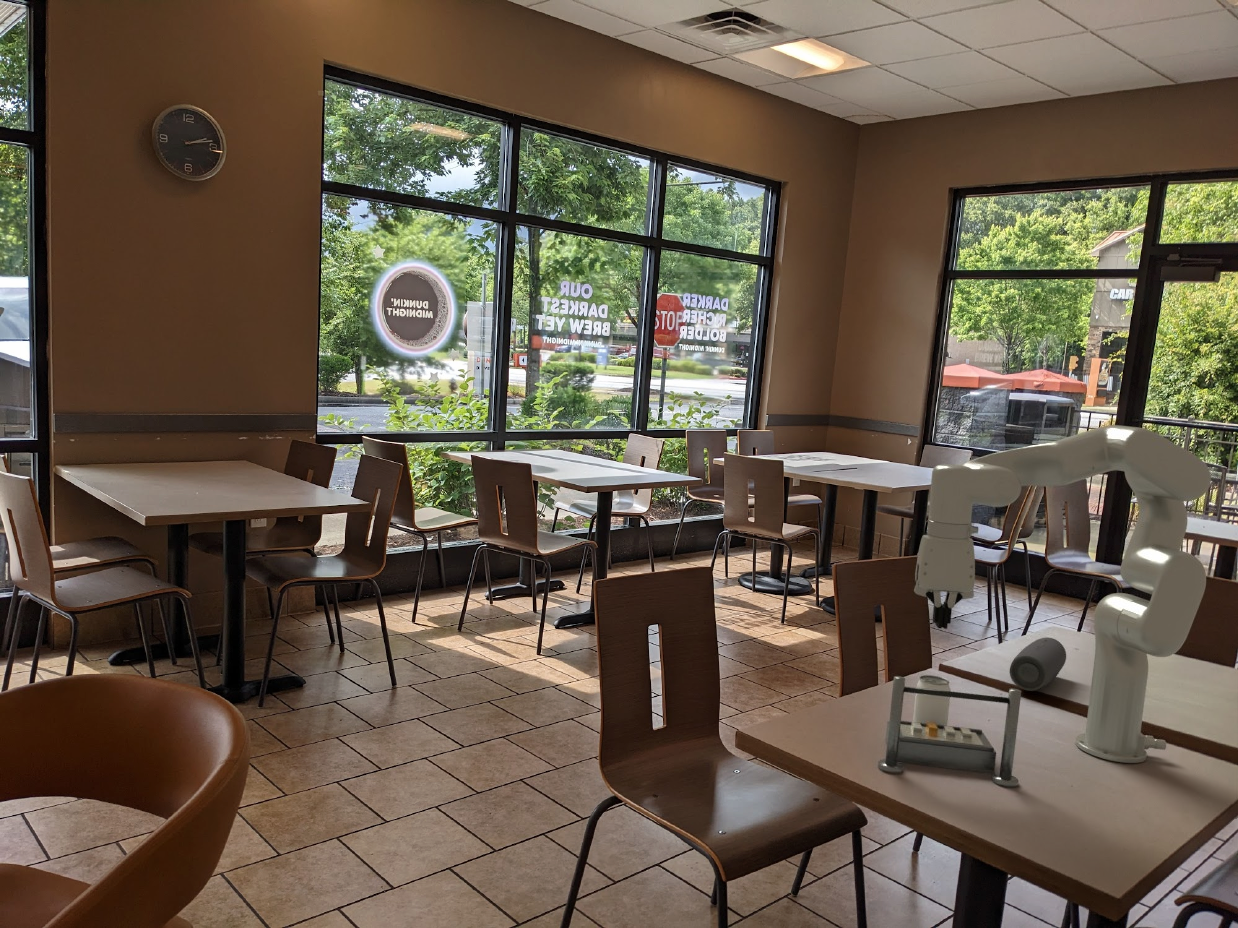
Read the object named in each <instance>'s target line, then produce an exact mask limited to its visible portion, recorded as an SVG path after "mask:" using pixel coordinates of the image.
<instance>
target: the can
mask: <svg viewBox="0 0 1238 928" xmlns="http://www.w3.org/2000/svg"><path fill="white" fill-rule="evenodd" d="M915 688H923V689H933V690H942V691H951V687H950V681H949V680H948V679H947V678H944V677H941V676H938V675H937V676H936V675H931V674H930V675H928V674H926V675H920V677H919V680H918V682H917V683H916V687H915ZM951 692H952V691H951ZM950 701H951V697H944V696H935V695H926V694H917V693H915V698H914V706H913V717H912V722H918V723H926V722H930V723H935V724H936V725H944V726H948V722H949V713H950V712H949V710H950V703H951V702H950Z"/></svg>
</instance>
